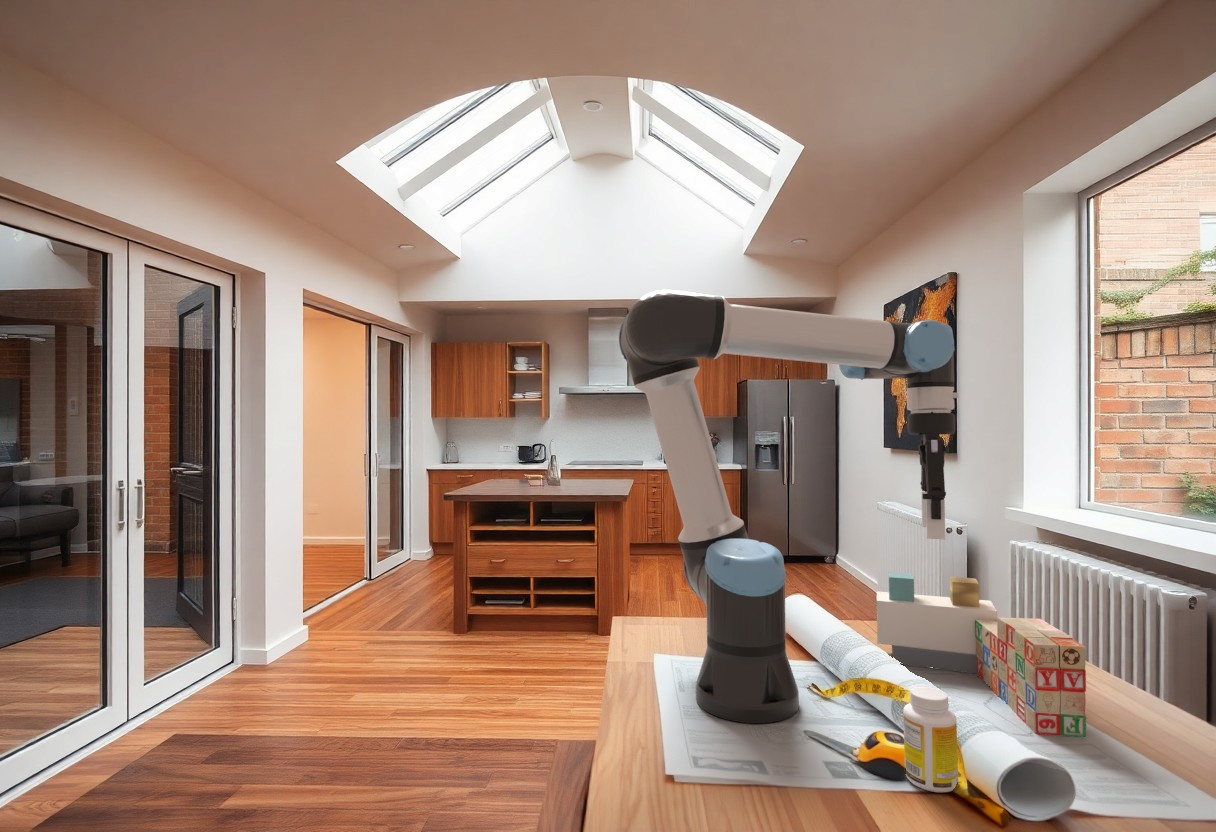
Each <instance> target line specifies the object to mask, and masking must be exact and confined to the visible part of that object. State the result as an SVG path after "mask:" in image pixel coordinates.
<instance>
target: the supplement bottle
mask: <svg viewBox="0 0 1216 832" xmlns="http://www.w3.org/2000/svg"><path fill="white" fill-rule="evenodd" d="M909 693H910V694H909V695H910V696H909V703H907V704H905V705H904V707H903V709H902V712H903V713H902V714H903V715H902V716H903V717H902V719H903V748H904V749H903V750H904V751H903V753H904V754H903V755H904V757H905V758H904V757H903V758H904V767H905V766H906V774H905V776H906V778H907V779H908V781H909V782H911V784H913V785H914V786H916V787H918V788H919V789H922V790H925V791H929V792H932V793H933V792H934V793H949V792H952V791H954V790H955V789H954V787H955V785H956V784H957V782H958V783H959V769H958V768H959V766H958V764H959V763H958V761H959V760H958V731H957V716H956V715H955V713H954V712H953V711H952V710H951V709H950V708H949V705H950V703H949V696H948V694H947V693H946V692H945V691H943V690H941V689H939V688H935V687H932V686H931V687H929V686H915V687H912V688H911V689H910V691H909ZM953 789H954V790H953Z"/></svg>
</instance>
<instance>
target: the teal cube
mask: <svg viewBox="0 0 1216 832" xmlns="http://www.w3.org/2000/svg"><path fill="white" fill-rule="evenodd" d="M888 592H889V600H898V601H909V602H914V594H915V578H914V574H913V573H903V572H900V573H899V572H888Z"/></svg>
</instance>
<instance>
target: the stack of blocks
mask: <svg viewBox="0 0 1216 832" xmlns="http://www.w3.org/2000/svg"><path fill="white" fill-rule="evenodd" d="M975 638H976V656H977V676H978V677H979V678H980V679H981V680H983V682H984V681H985V682H986V683H987V684H988V685H987V684H986V683H985V682H984V683H985V684H986V685H987V686H988V687H989V686H990V687H989V688H990V689H991V688H992V689H991V690H992V691H993V692H994V693H995V694H996V695H997V697H999V698H1000V699H1001V700H1002V701H1003V700H1004V701H1005V702H1006V703H1005V702H1004V701H1003V702H1004V703H1005V704H1006V705H1007V706H1008V707H1009V708H1010V709H1011V710H1012V711H1013V712H1014V713H1015V714H1016V716H1017V717H1018V718H1019V719H1020V720H1021V721H1022V722H1023V724H1025V725H1026V726H1027V727H1028V728H1029V729H1030V730H1031V731H1032V732H1033V733H1034V734H1035V735H1042V734H1043V736H1056V737H1057V736H1059V737H1060V736H1061V737H1071V736H1074V738H1085V737H1086V738H1087V715H1086V703H1087V701H1086V699H1087V698H1086V692H1087V670H1086V646H1085V645H1083V644H1081V643H1080V642H1078V641H1077V640H1075V639H1073V637H1072V636H1071V635H1069V634H1068V633H1066V632H1065V631H1062V630H1060V629H1058V628H1057V627H1055V626H1053V625H1051V624H1050V623H1048V622H1046V621H1045V620H1043V619H1042V618H1026V617H1025V618H1024V617H999V616H997V620H975Z"/></svg>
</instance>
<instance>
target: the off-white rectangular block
mask: <svg viewBox="0 0 1216 832" xmlns="http://www.w3.org/2000/svg"><path fill="white" fill-rule="evenodd" d="M997 618H998V610H997V608H995V606H994V604H993V601H992V600H987V599H986V600H985V599H979V607H968V606H956V605H952V602H951V600H950V596H938V595H937V596H936V595H926V594H925V595H924V594H916V593H914V602H909V601H898V600H889V591H887V592H886V591H876V626H877V629H876V630H877V632H876V635H877V637H876V639H877V644H879V645H887V646H892V645H895V646H904V647H913V648H922V649H931V650H940V651H949V652H958V653H967V654H976V638H975V620H997Z"/></svg>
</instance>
